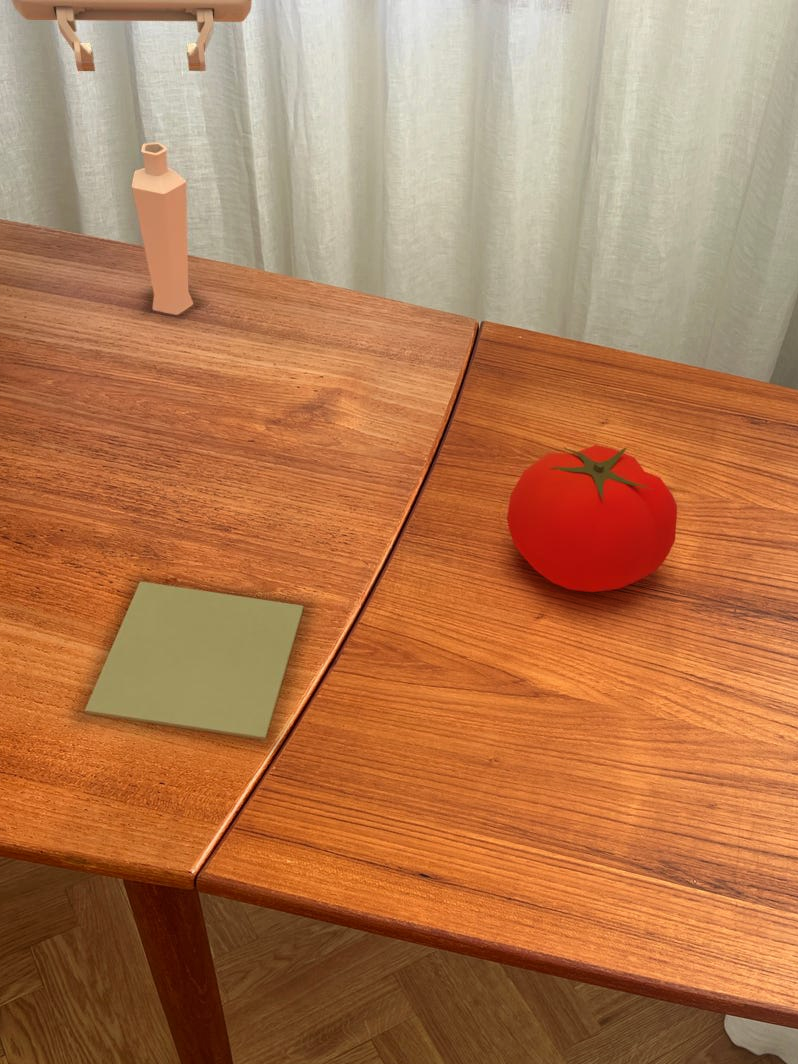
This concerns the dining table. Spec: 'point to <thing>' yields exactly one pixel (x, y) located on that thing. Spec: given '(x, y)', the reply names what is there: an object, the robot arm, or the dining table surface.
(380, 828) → the dining table surface
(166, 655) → the front mat
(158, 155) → the perfume bottle
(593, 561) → the tomato
